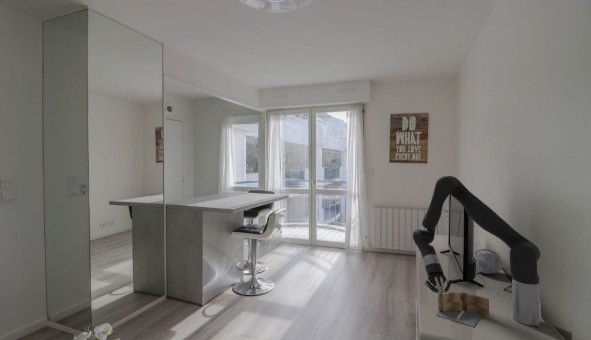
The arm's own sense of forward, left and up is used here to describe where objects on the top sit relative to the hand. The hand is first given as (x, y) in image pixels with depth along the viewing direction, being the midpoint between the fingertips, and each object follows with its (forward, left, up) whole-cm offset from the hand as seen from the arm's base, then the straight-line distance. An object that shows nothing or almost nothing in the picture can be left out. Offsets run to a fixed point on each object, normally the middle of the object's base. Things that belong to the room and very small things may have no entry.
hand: (444, 301), depth 138 cm
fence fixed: (-11, -6, -4) cm, 13 cm away
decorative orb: (-4, -64, -5) cm, 64 cm away
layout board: (-6, -1, -4) cm, 8 cm away
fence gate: (-2, -1, -4) cm, 4 cm away
